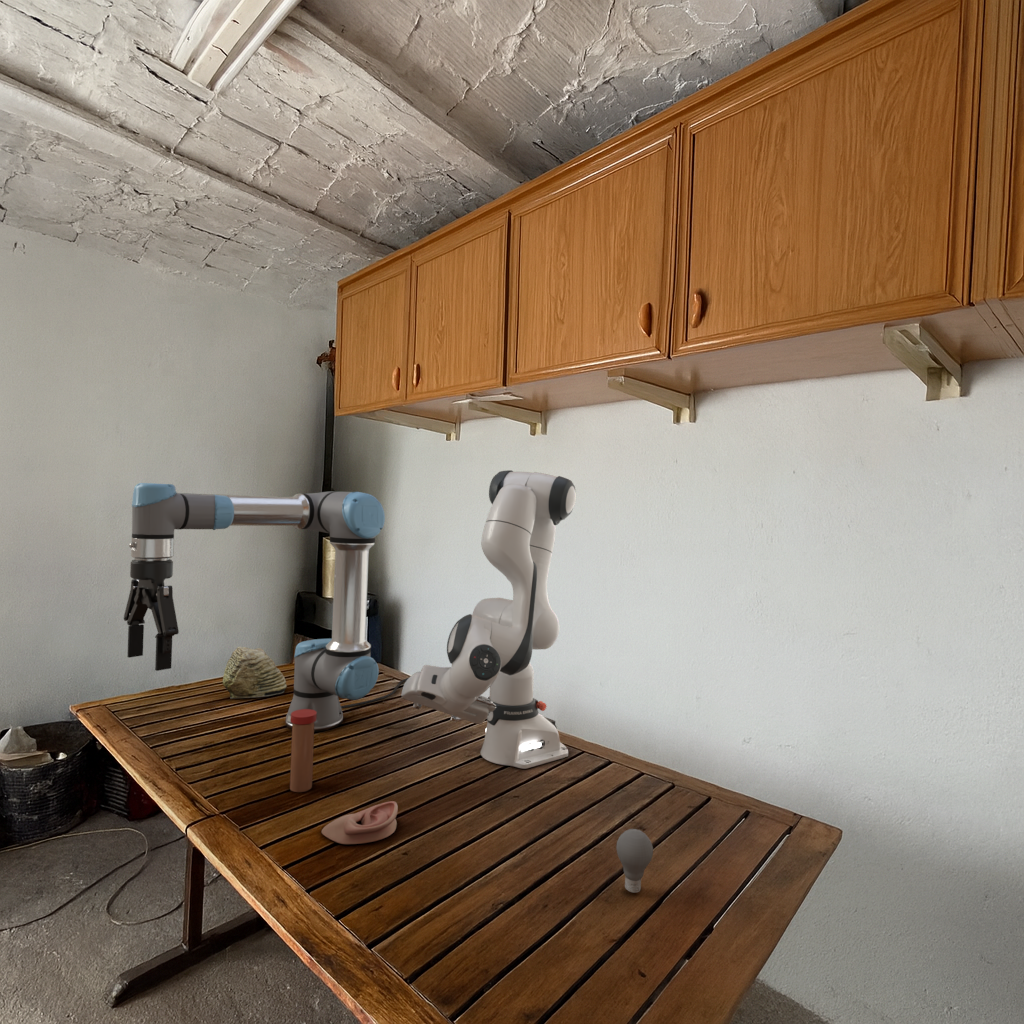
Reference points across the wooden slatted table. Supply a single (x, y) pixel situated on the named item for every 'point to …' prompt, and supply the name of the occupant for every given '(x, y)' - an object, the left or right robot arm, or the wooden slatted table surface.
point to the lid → (303, 716)
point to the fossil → (252, 674)
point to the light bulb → (634, 857)
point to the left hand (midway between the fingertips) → (148, 662)
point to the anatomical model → (364, 825)
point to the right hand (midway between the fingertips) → (435, 711)
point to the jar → (302, 757)
